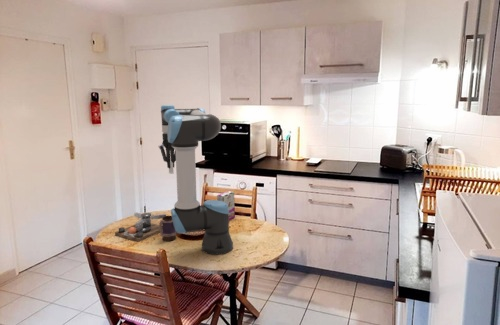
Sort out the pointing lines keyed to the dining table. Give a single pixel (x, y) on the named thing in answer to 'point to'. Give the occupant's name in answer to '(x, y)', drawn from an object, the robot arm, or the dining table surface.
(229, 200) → the candy bar box
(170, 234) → the mug
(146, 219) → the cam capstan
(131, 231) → the ball
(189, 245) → the dining table surface
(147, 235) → the walnut stand
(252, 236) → the dining table surface
